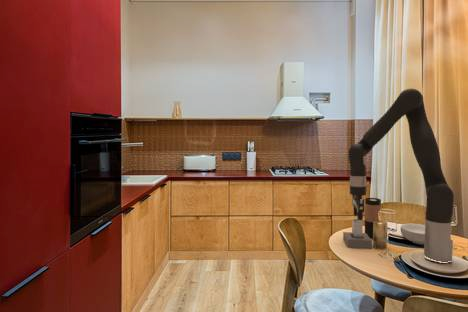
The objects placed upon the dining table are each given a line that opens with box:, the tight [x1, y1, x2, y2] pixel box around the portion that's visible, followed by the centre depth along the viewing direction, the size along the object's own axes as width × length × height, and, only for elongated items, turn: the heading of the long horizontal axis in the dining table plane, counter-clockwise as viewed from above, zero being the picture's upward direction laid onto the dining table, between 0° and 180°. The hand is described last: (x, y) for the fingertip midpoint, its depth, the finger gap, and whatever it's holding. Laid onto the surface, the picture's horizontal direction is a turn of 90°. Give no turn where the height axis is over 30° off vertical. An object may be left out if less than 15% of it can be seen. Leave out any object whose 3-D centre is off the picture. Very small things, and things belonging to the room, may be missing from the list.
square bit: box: [351, 218, 364, 238], centre depth 148 cm, size 4×4×12 cm
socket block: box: [342, 231, 373, 250], centre depth 148 cm, size 11×11×4 cm
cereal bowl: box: [400, 223, 425, 246], centre depth 150 cm, size 17×17×7 cm
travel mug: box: [364, 197, 382, 239], centre depth 158 cm, size 8×8×20 cm
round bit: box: [372, 220, 388, 250], centre depth 144 cm, size 6×6×12 cm
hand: (357, 217), depth 147 cm, fingers open, 8 cm apart
